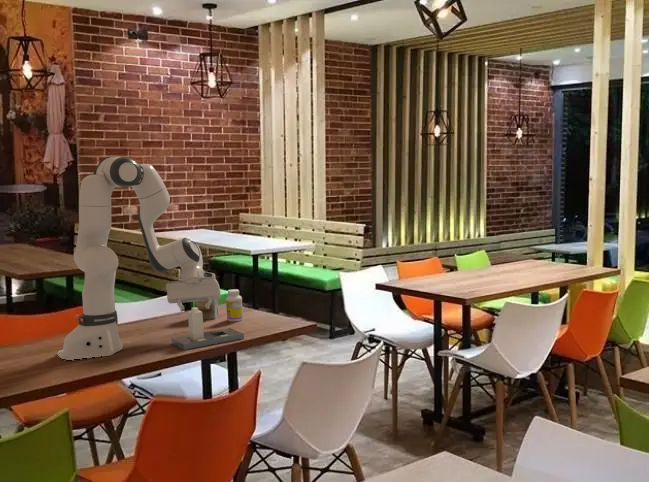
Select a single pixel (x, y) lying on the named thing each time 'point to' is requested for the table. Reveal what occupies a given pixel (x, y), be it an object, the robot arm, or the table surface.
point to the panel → (208, 339)
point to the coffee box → (208, 313)
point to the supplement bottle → (234, 306)
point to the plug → (195, 324)
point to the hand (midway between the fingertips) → (195, 309)
